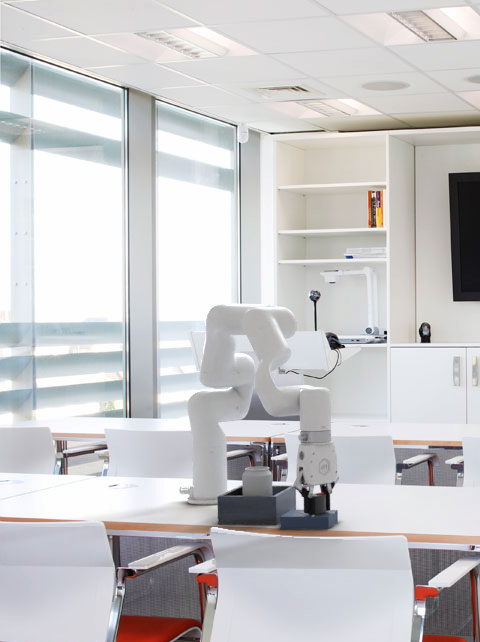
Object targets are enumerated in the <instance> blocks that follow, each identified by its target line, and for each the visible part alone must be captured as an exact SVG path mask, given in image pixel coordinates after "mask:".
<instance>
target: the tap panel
mask: <svg viewBox="0 0 480 642" xmlns="http://www.w3.org/2000/svg"><path fill="white" fill-rule="evenodd" d="M338 522H339V510H338V509H330V510H329V511H326V513H325V514H320V515H311V514H307V513H304V509H296V510H290V511H288V512H287V513H285V514H284V515H282V516H280V523H279V528H280V530H330V529H331V528H332V527H333V526H335V525H336V524H337V523H338Z"/></svg>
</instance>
